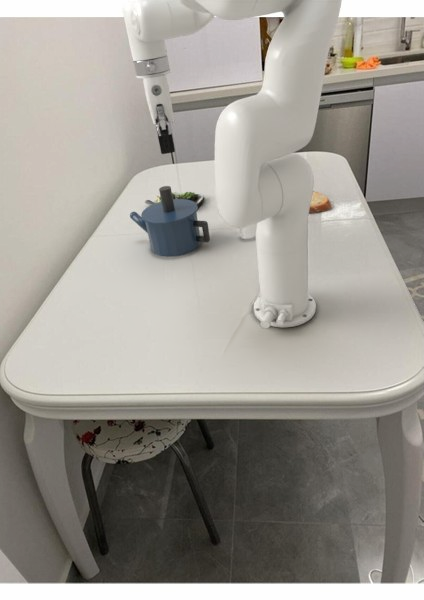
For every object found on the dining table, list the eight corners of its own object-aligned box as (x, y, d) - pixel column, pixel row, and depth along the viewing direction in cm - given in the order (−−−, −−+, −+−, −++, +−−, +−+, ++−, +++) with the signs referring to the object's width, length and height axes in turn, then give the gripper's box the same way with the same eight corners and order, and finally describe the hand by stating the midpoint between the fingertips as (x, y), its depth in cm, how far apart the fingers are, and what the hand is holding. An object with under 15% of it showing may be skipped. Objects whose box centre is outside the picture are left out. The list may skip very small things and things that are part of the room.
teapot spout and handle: (208, 244, 114) (204, 217, 110) (133, 238, 123) (127, 213, 119) (211, 240, 116) (208, 213, 111) (137, 234, 124) (131, 210, 120)
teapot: (188, 260, 112) (182, 225, 107) (142, 256, 118) (134, 222, 112) (208, 236, 122) (203, 202, 117) (165, 233, 128) (159, 201, 122)
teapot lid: (183, 228, 106) (178, 200, 102) (131, 225, 112) (125, 198, 108) (206, 204, 117) (202, 177, 113) (158, 202, 123) (153, 177, 119)
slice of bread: (333, 210, 125) (334, 198, 123) (270, 217, 127) (270, 205, 125) (321, 188, 140) (321, 177, 138) (265, 195, 142) (264, 183, 140)
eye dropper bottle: (260, 240, 116) (257, 198, 109) (239, 241, 118) (235, 198, 111) (262, 233, 120) (259, 191, 113) (242, 233, 121) (238, 192, 114)
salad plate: (132, 216, 141) (129, 202, 139) (161, 194, 154) (158, 182, 151) (184, 221, 133) (181, 206, 130) (210, 198, 146) (208, 184, 143)
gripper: (171, 68, 88) (185, 154, 97) (166, 61, 102) (179, 136, 112) (134, 75, 88) (152, 160, 97) (135, 66, 102) (150, 141, 112)
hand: (167, 147), depth 105 cm, fingers open, 9 cm apart
